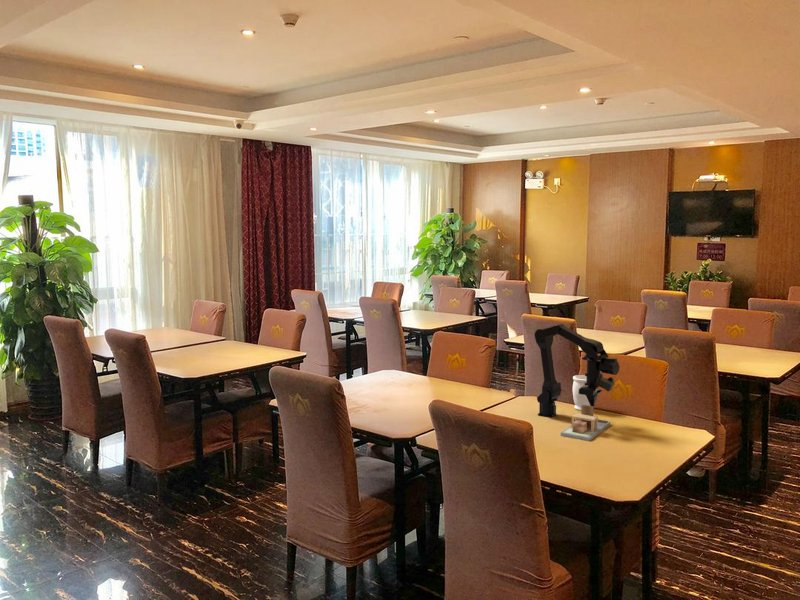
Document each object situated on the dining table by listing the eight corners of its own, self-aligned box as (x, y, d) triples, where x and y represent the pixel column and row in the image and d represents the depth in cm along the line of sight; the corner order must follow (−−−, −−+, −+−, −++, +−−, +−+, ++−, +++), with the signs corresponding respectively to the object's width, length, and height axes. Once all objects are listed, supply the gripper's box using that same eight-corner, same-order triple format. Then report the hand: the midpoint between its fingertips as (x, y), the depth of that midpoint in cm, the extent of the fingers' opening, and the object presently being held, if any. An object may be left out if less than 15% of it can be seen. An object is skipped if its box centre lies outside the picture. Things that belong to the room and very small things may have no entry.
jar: (597, 411, 298) (598, 379, 296) (575, 411, 298) (576, 380, 296) (591, 405, 309) (592, 374, 307) (569, 405, 309) (570, 374, 307)
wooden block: (572, 431, 266) (572, 411, 265) (581, 424, 275) (582, 404, 274) (583, 433, 263) (584, 412, 262) (593, 426, 272) (593, 406, 271)
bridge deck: (560, 435, 265) (560, 420, 264) (583, 419, 286) (583, 405, 285) (589, 441, 258) (589, 425, 257) (610, 424, 279) (610, 410, 278)
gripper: (605, 377, 263) (604, 415, 265) (619, 369, 278) (618, 404, 280) (578, 374, 269) (577, 411, 271) (594, 366, 284) (593, 400, 286)
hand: (592, 406), depth 277 cm, fingers closed
